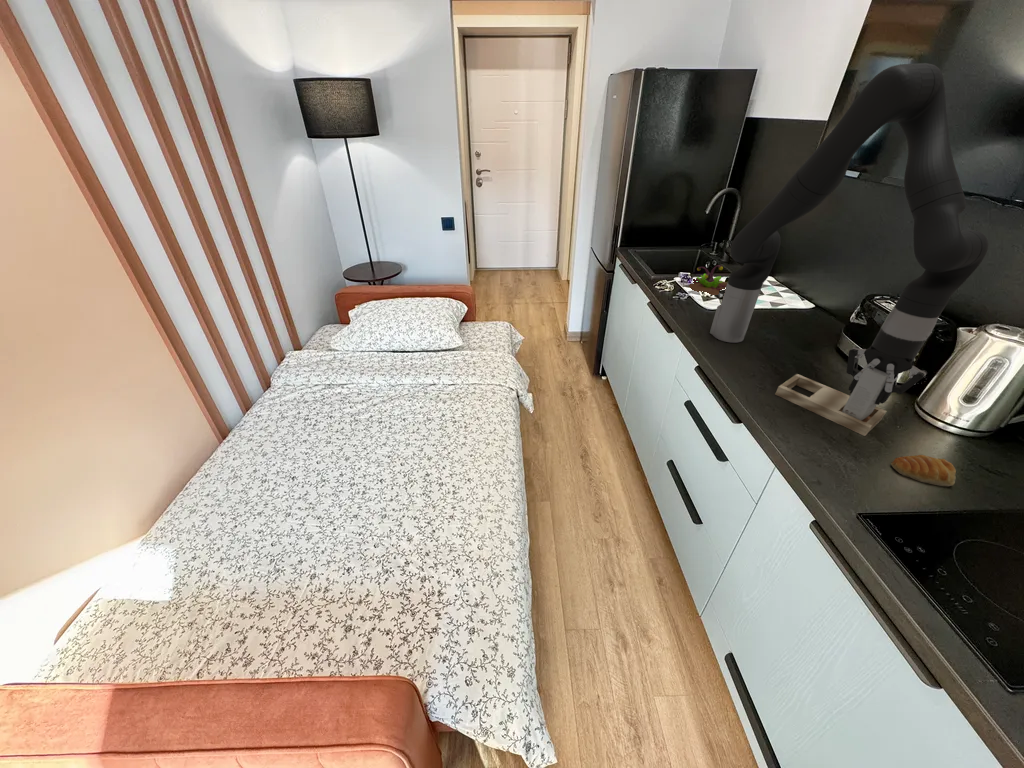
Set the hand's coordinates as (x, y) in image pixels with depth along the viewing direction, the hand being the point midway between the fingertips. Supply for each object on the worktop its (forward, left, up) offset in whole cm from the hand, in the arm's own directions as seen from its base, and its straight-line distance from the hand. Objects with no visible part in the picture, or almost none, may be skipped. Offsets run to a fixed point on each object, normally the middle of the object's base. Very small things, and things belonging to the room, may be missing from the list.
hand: (865, 397), depth 96 cm
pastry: (+16, -9, -7) cm, 19 cm away
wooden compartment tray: (-6, 0, -6) cm, 9 cm away
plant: (-67, +44, -7) cm, 80 cm away
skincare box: (0, 0, -5) cm, 5 cm away
